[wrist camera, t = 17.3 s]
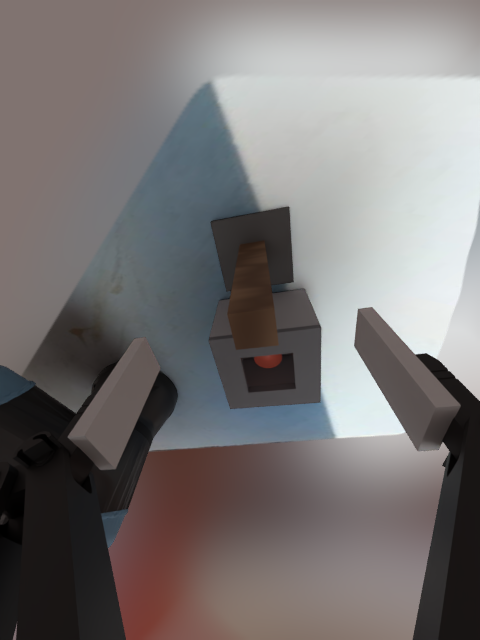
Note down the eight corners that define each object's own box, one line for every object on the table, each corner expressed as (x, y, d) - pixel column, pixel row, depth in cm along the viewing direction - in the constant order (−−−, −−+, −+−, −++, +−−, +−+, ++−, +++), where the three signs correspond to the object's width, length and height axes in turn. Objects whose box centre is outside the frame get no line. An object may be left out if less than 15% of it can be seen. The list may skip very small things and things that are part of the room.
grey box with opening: (234, 362, 40) (230, 408, 32) (218, 300, 33) (208, 340, 26) (306, 354, 38) (320, 402, 30) (304, 288, 32) (321, 327, 24)
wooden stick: (243, 268, 30) (236, 349, 16) (239, 244, 28) (227, 314, 15) (267, 264, 29) (278, 345, 16) (264, 240, 28) (274, 308, 14)
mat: (227, 289, 32) (226, 291, 32) (211, 221, 27) (210, 222, 27) (292, 280, 31) (293, 282, 31) (288, 206, 26) (289, 207, 26)
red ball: (255, 348, 35) (256, 369, 31) (252, 329, 33) (252, 349, 30) (279, 345, 35) (283, 366, 31) (277, 326, 33) (280, 346, 29)
